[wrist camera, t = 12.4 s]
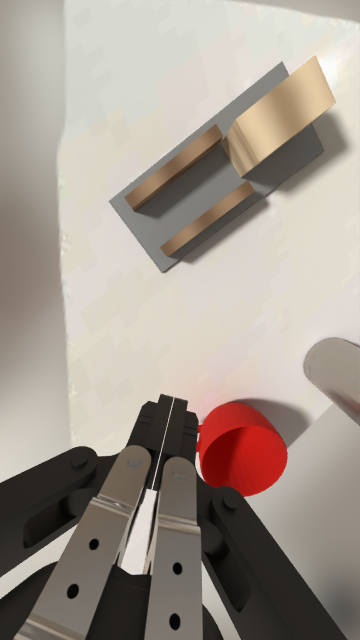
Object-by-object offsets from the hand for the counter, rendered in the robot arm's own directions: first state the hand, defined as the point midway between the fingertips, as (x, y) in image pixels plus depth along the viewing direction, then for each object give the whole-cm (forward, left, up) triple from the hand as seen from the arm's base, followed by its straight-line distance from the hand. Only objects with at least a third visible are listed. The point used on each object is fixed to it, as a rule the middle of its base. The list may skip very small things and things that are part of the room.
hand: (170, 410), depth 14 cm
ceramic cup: (-10, +21, -28) cm, 37 cm away
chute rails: (-3, -15, -28) cm, 32 cm away
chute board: (-7, -18, -28) cm, 34 cm away
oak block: (-13, -23, -27) cm, 38 cm away
